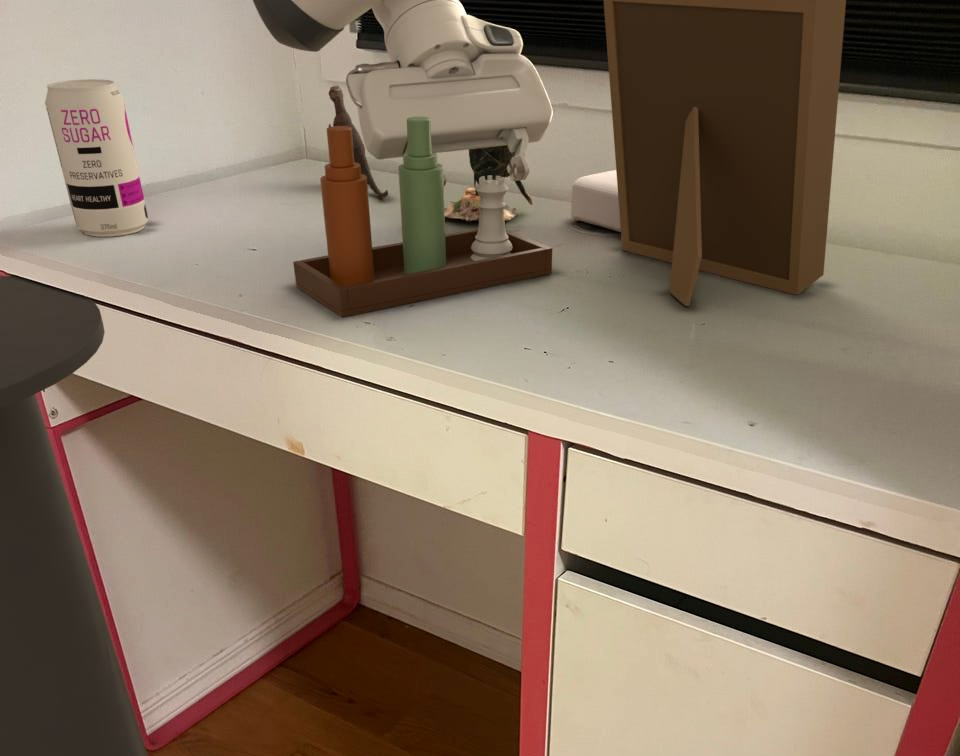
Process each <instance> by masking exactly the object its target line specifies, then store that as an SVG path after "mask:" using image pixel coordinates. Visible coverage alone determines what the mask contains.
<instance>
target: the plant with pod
mask: <svg viewBox="0 0 960 756" xmlns="http://www.w3.org/2000/svg"><path fill="white" fill-rule="evenodd" d="M514 156H515V152H510V150H509V148H508V145H504V146H495V147H486V148H477V149H468V157H469V158H468V159H469V165H470V168H471V170H472V172H473V186H474V188H471V187H467V188H466V190H465V194H463V195H462V196H461V198H460V199H459V200H457V201H450V200H449V202H450V204H449V205H448V206H447V207H444V216H445V218H449V219H461V220H462V221H464V220H466V222H471V221H477V222H479V219H480V208H479V206H478V204H479V202H480V195H479V194H478V192H477V191H476V189H475V188H476V187H477V185H478V184H479V178H480V177H482V176H484V177H485V180H487V176H489V175H492V180H496V176H501V177H504V179H506V178H508V177H509V178H510V176H511V175H510V174H509V173H508V171H507V166H508V164H509V163H510V160H511V158H512V157H514ZM514 183H515V185H516V187H517V188H518V190H519V192H520V193H521V195H522V196H523V197H524V199H525V200H526V201H527V202H528V204H530V205H533V204H534V201H533V198H532V197H531V196H530V195H529V193H527V191H526V189H525V187H524V185H523V182H522V180H520V181H514ZM517 215H518V210H517V209H516V208H515V207H514V208H511V207H509V205H507V204H506V206H505V207H504V221H505V222H509V221H511V220H512V219H513V218H514V217H516V216H517Z"/></svg>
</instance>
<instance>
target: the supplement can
mask: <svg viewBox="0 0 960 756" xmlns="http://www.w3.org/2000/svg"><path fill="white" fill-rule="evenodd" d="M46 88H47V91H46V97H45V102H44V105H45V108H46V112H47V117H48V120H49V124H50V128H51V132H52V136H53V141H54V143H55V148H56V152H57V156H58V159H59V163H60V164H59V165H60V167H61V171H62V175H63V179H64V184H65V186H66V191H67V195H68V199H69V203H70V206H71V212H72V215H73V218H74V222H75V226H76V228H78V230H81V231H82V232H83V233H84V234H85V235H86V236H91V237H97V238H98V237H101V238H107V237H108V238H110V237H120V236H126V235H131V234H135V233H137V232H140V231H143V229H145V227H146V226H145V225H146V224H147V223H148V222H149V216H148V215H149V214H148V210H147V206H146V201H145V196H144V191H143V187H142V181H141V177H140V173H139V168H138V163H137V159H136V153H135V149H134V144H133V139H132V135H131V129H130V125H129V119H128V116H127V110H126V105H125V101H124V100H125V99H124V97H123V95H122V93H121V92H120V90H119V89H118V88H117V87H116V85H115V82H114V81H113V80H110V79H100V78H99V79H97V78H93V79H92V78H91V79H71V80H62V81H56V82H52V83H49V84H47V86H46Z"/></svg>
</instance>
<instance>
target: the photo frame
mask: <svg viewBox="0 0 960 756" xmlns="http://www.w3.org/2000/svg"><path fill="white" fill-rule="evenodd" d="M846 6H847V0H603V10H604V11H603V12H604V23H605V24H604V25H605V36H606V37H605V38H606V51H607V63H608V76H609V77H608V78H609V91H610V105H611V117H612V128H613V129H612V130H613V131H612V132H613V144H614V146H613V147H614V159H615V170H616V172H617V186H618V199H619V212H620V226H621V232H620V240H621V250H622V251H623V252H627V253H633V254H636V255H640V256H643V257H648V258H652V259H655V260H659V261H663V262H667V263H670V264H671V270H670V271H671V272H670V282H669V293H670V294H671V295H672V296H673V297H674V298H676V299H677V300H678V301H679V302H680V303H681V304H683V305H684V306H685V307H690V306H691V303H692V297H693V295H694V289H695V285H696V282H697V278H698V274H699V271H702V272H706V273H710V274H714V275H718V276H721V277H724V278H725V277H726V278H729V279H733V280H738V281H741V282H744V283H749V284H753V285H756V286H760V287H765V288H768V289H772V290H775V291H780V292H783V293H787V294H790V295H794V296H799V295H800V294H801V293H802V292H804V291H805V290H806V289H807V288H809V287H810V286H811V285H812V284H814V283H815V282H816V281H818V280H819V279H820V278H821V277H823V276H824V273H825V261H826V251H827V250H826V249H827V236H828V225H829V213H830V212H829V211H830V199H831V188H832V177H833V176H832V175H833V165H834V151H835V139H836V128H837V115H838V105H839V103H838V102H839V92H840V91H839V89H840V79H841V66H842V53H843V43H844V30H845V29H844V28H845V17H846Z"/></svg>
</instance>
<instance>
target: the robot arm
mask: <svg viewBox="0 0 960 756" xmlns="http://www.w3.org/2000/svg"><path fill="white" fill-rule="evenodd" d="M252 3H253V6H254V8H255V10H256V12H257V15H258V16H259V18H260V20H261V21H262V24H263V25H264V26H265V28H266V29H267V30H268V33H270V34H271V36H272V37H273V39H274V40H276V42H278V43H279V44H280V45H283V46H286V47H288V48H291V49H295V50H299V51H303V52H312V53H317V52H320V50H322V49H323V48H324V47H325V46H326V45H328V44H329V43H330V42H331V41H332V40H333V39H334V38H336V37H337V36H338V35H339V34H340V33H342V32H343V31H344V29H345V27H347V26H348V25H350V24H351V23H352V22H354V21H355V20H356V19H358V18H359V17H361V16H362V15H364V14H365V13H367V12H369V10H371V9H372V12H373V14H374V17H375V19H376V20H377V22H378V23H379V25H380V26H381V27H382V29H383V33H384V34H383V35H384V45H385V49H386V52H387V55H388V58H389V61H384V62H382V61H381V62H378V63H371V64H370V63H360V64H357V65H355V67H354V68H353V69H352V70H350V71H349V72H348V73H347V75H346V78H345V86H346V88H347V92H348V94H349V97H350V99H351V101H352V103H353V104H354V105H355V106H356V107H357V115H358V122H359V127H360V130H361V135H362V139H363V144H364V147H365V150H366V151H367V152H368V154H369V155H371V156H372V157H374V158H375V159H377V160H386V159H387V160H388V159H396V158H397V159H398V158H403V155H404V154H406V153H408V140H407V121H406V120H407V118H410V117H428V118H430V120H431V146H432V152H433V153H436V154H442V153H450V152H458V151H469V149H477V148H486V147H495V146H504V145H508V148H509V150H510V152H515V156H514V157H512V158H511V160H510V163H509V164H508V166H507V171H508V173H509V174H510V175H511V176H509V178H510V181H511V182H515V181H525V180H526V179H527V177H528V176H529V175H530V165H529V163H528V161H527V158H526V155H527V150H528V145H529V143H537V142H540V141H541V140H542V139H543V137H544V135H545V134H546V132H547V131H548V128H549V127H550V124H551V122H552V118H553V107H552V104H551V100H550V98H549V95H548V92H547V90H546V88H545V86H544V83H543V81H542V78H541V76H540V75H539V73H538V71H537V69H536V67H535V65H534V64H533V63H532V62H531V60H529V59H528V57H526V56H525V55H523V54H521V53H522V51H523V47H524V42H523V38H522V35H521V34H520V32H519V31H517V30H516V29H513V28H511V27H506V26H502V25H498V24H494V23H492V22H488V21H485V20H482V19H479V18H477V17H476V16H473V15H470V14H467V12H466V10H465V8H464V6H463V4H462V3H461V2H460V0H252ZM446 184H447V178H446V175H445V174H444V173H443V185H444V187H445V186H446Z"/></svg>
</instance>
